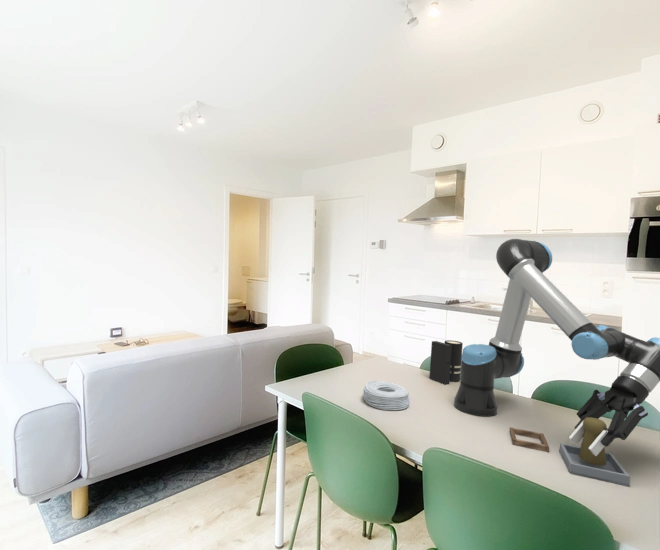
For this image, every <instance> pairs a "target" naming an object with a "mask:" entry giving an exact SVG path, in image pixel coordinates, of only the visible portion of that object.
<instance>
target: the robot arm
mask: <svg viewBox="0 0 660 550" xmlns="http://www.w3.org/2000/svg"><path fill="white" fill-rule="evenodd" d="M495 258H496V262H497V264H498V267H499V268H500V269H501V271H502V272H503V274H505V275H506V276H507V277H508V278H509V281H508V284H507V289H506V291H505V295H504V296H505V297H504V301H503V304H502V308H501V311H500V316H499V319H498V323H497V327H496V332H495V336H494V337H492V338H490V339H489V343H488V344H483V343H479V344H476V343H474V344H468V345H466V346H464V347H463V348H462V360H461V375H460V381H459V383H460V384H459V387H458V389H457V392H456V394H455V396H454V399H453V400H454V401H453V406H454V407H455V408H456V409H457V410H459V411H461V412H463V413H466V414H469V415H473V416H479V417H480V416H481V417H493V416H495V415H497V414H498V403H497V400H496V394H495V391H494V386H495V380H496V379H502V378H511V377H513V376H516V375H517V374H520V373H521V371H522V370H523V367H525V366H524V365H525V359H524V356H523V353H522V350H523V347H522V346H521V344H520V341H521V336H522V333H523V329H524V325H525V322H526V317H527V315H528V310H529V307H530V302H531V299H532V300H534V302H535V303H536V304H537V306H539V307H540V308H541V309H542V311H543V312H544V313H545V314H546V315H547V316H548V317H549V318H550V320H551V321H553V322H554V323H555V324H556V326H557V327H558V328H559V329H560V330H561V331H562V332H563V333H564V335H565V336H567V337H568V339H569V340H570V341H571V344H570V345H571V348H572V352H574V354H575V355H576V356H578V357H579V358H581V359H585V360H593V361H595V360H600V359H604V358H610V357H616V358H618V359H620V360H622V361H624V362H627V363H628V364H627V366H626V367H624V369H623V370H622V371H621V372H620V374H619V375H618V376H617V377H616V378H615V380H614V381H613V382H612V383H611V384H610V385H611V387H610V389H608V390H606V391H605V392H601V391H599V390H598V389H595V390H593V393H592V394H591V397H590V398H589V399H587V401H586V402H584V405H582V407H581V408H579V410H578V411H577V412H576V415H577V417H578V418H579V419H580V420H579V421H578V423H577V424H576V425H575V426H574V431H573V432H571V434H570V435H569V436H568V438H569V440H570V441H571V443H573V445H574V446H578V444H579V442H580V441H582V440H583V436H584V432H585V428H584V427H583V421H584V419H585V418H587V417H592V418H597V419H600V418H601V417H603V416H605V414H607V413H611V412H612V411H614V414H613V415H612V419H611V420H610V424H609V425H608V427H607V428H606V429H607V430H606V431H605V430H603V431H602V432H601V433H600V435H599V436H598V437H597V438H596V439H595V441H594V442H593V443H592V444H591V445H590V447H589V450H590V451H591V452H592V453H593V455H595V456H597V455H598V454H599V452H600V451H601V450H602V449H603V448H604V446H605V448H607V447H609V446H610V445H611V443H612V442H613V441H614V440H615V439H620V440H623V441H625V440H626V439H627V438H628V437H629V436H630V435H631V433H632V432H633V431H634V429H635V428H636V427H637V425H638V424H639V423H640V422H641V420H642V419H644V418H646V417H647V416H648V415H649V413H648V411H647V410H646V408H644V406H643V405H641V404H643V403H644V401H645V400H646V399H647V398H648V397H649V396H650V395H649V394H650V393H652V391H653V390H654V389H655V388H656V386H657V385H658V384H659V383H660V337H656V336H654V337H651V338H649V339H648V340H646V341H645V340H643V339H639V338H637V337H634V336H633V335H630V334H627V333H626V332H625V333H624V332H622V331H620V330H617V329H615V327H614V328H613V327H610V326H607V325H603V324H602V325H601V324H600V325H597V326H596V325H595V324H594V323H592V321H591V320H590V319H589V318H587V316H586V315H585V314H584V313H583V312H582V311H581V310H580V309H579V308H578V307H577V306H576V305H575V304H574V303H572V301H570V299H569V298H568V297H567V296H566V295H565V294H564V293H563V292H562V291H561V290H560V289H559V288H557V286H556V285H555V284H554V283H553V282H552V281H550V279H549V278H548V277H547V276H546V275H544V273H545V272H546V271H547V270H548V269H549V268H550V267H551V265H552V263H553V254H552V251H551V249H550V248H549V247H548V246H547V245H546V244H544V243H543V242H542V243H541V242H539V241H536V240H529V239H528V240H527V239H520V238H510V239H507V240H505V241H504V242H502V243H501V244H500V245H499V247H498V249H497V250H496V255H495ZM629 412H630V413H629Z"/></svg>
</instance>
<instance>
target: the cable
mask: <svg viewBox="0 0 660 550" xmlns="http://www.w3.org/2000/svg"><path fill="white" fill-rule="evenodd" d="M362 396H363V399H364V401H365V403H366V404H367V405H368V406H371V407H373V408H375V409H378V410H382V411H401V410H405V409H407V408H409V406H410V403H411V402H410V397H409V391H408V390H407V389H406V388H405V387H403V386H401V385H399V384H396V383H392V382H389V381H386V380H371V381H367V382H366V384H365V385H364V387H363V394H362Z"/></svg>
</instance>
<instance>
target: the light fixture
mask: <svg viewBox="0 0 660 550" xmlns="http://www.w3.org/2000/svg"><path fill="white" fill-rule="evenodd" d="M430 351H431V352H430V361H429V362H430V364H429V365H430V366H429V378H428V379H429V380H431V381H434V382H436V383H439V384H442V385H443V386H446V385H450V382H452V383H458V382H459V383H460V381H461V364H462V353H463V342H461V341H456V340H451V339H450V340H448V339H447V340H444V342H441V341H438V340H433V341H432V340H431V349H430Z"/></svg>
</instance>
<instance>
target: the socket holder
mask: <svg viewBox="0 0 660 550" xmlns="http://www.w3.org/2000/svg"><path fill="white" fill-rule="evenodd" d="M516 435H518V436H523V437H528V438H533V439H539V440H540V443H538V442H533V441H527V440H522V439H518V438H517V437H516ZM509 436H510V438H511V444H512V445H514V446H518V447H523V448H528V449H531V450H532V449H533V450H538V451H542V452H546V453H549V452H550V445H549V442H548V441H547V439H546V436H545V435H544V433H542V432H536V431H533V430H532V431H531V430H526V429H520V428H516V427H509Z"/></svg>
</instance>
